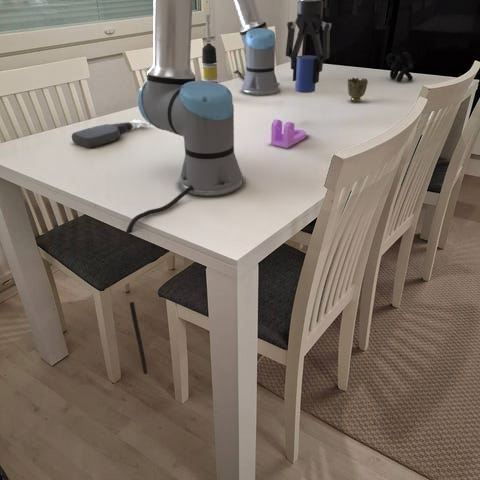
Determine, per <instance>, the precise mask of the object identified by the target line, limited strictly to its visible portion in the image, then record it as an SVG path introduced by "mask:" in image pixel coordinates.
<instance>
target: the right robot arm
mask: <svg viewBox="0 0 480 480" xmlns="http://www.w3.org/2000/svg"><path fill="white" fill-rule="evenodd" d="M232 3H233V6H234V9H235V12H236V15H237V18H238V20H239V24H240V27H239V31H238V32H239V35H240V38H241V41H242V44H243V48H244V50H245V66H246V67H245V71H246V72H245V75H244V76H242V73H241V72H240V71H239V70H238V69H236V70H235V71H234V74H237V73H238V74H239V78H240V79H242V80H243V82H242V86H241V92H242V93H243V94H246V95H250V96H270V95H274V94H277V93H278V92H279V87H280V82H278V80H277V76H276V73H275V64H276V63H275V62H276V42H277V41H276V40H277V39H276V33H275V31H273V30H272V29H270V28H268V26H267V25H268V24H267V22H266V19H263V18H262V17H261V15H260V12H259V8H258V6H257V2H256V0H232ZM361 3H362V0H353V8H352V16H359V9H360V8H359V7H360V6H361ZM331 8H332V0H324V1H323V9H325V10H324V17H325V18H330V17H331V12H332V11H331Z"/></svg>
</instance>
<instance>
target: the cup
mask: <svg viewBox="0 0 480 480" xmlns="http://www.w3.org/2000/svg"><path fill="white" fill-rule="evenodd" d="M368 82H369V79H367V78H365V77H362V78H361V79H359V77H356V78H355V77H352V78H347V93H348V96H349V97H350V101H351V102H354V103H359V102H360V101H361V98H363V96H365V94H366V92H367V91H366V90H367V87H368Z"/></svg>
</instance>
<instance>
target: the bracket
mask: <svg viewBox="0 0 480 480" xmlns="http://www.w3.org/2000/svg"><path fill="white" fill-rule="evenodd" d="M270 129H271V130H270V131H271V132H270V133H271V134H270V145H272V146H277V147H281V148H285V149H288V148H290V147H292V146H294V145H295V144H297V143H299V142H302V140H304V139H306V138H307V131H306V130H304V129H299V128H297V129H296V128H295V123H294V122H292V121H291V122H290V121H286V122H285V124H284V127H283V121H282V119H281V120H280V119H274V120H272V123H271V127H270Z"/></svg>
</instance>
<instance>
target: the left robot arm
mask: <svg viewBox="0 0 480 480" xmlns="http://www.w3.org/2000/svg"><path fill="white" fill-rule="evenodd" d="M193 1H194V0H153V64H152V67H150V68H149V69H148V71H147V72H146V81H144V82H143V83H142V86H141V87H140V88H139V90H138V94H137V106H138V109H139V113H140V115H141V116H142V118H143V119H144V120H145V122H148V123H150V126H151V125H152V126H154V127H155V128H157V129H159V130H161V131H166V132H169V133H172V134H175V135H178V136H181V137H183V141H184V142H183V143H184V154H185V155H184V158H183V164H182V168H181V171H180V177H179V178H180V179H179V183H180V184H179V185H180V188H181V189H182V192H180V193H179V194H178V195H177V196H176V197H174V198H173V199H172V200H171V201H170V202H168V203H167V204H165V205H163V206H161V207H157V208H152V209H148V210H146V211H144V212H141V213H140V214H137V215H135V216H134V217H133V218H132V219H131V220H130V221H129V223H128V225H127V228H126V231H125V233H126V234H127V235H128V234H131V233H132V230H133V229H134V226H135V225H136V224H137V222H138V221H139V220H141V219H143V218H145V217H148V216H150V215H153V214H154V215H155V214H158V213H162V212H165V211H167V210H168V209H171V207H173V206H174V205H175V204H177V203H178V202H179V201H180V200H181V199H183V198H184V197H185V196H186V195H187V194H190V195H194V196H199V197H221V196H224V195H229V194H232V193H234V192H235V191H237V190H239V189H240V188H241V187H242V185H243V174H242V171H241V168H240V165H239V163H238V160H237V157H236V154H235V125H234V124H235V121H234V119H235V115H234V114H235V113H234V112H235V110H234V109H235V106H234V102H233V94H232V92H231V90H230V89H229V87H227V86H226V85H223V84H221V83H219V82H218V83H215V82H216V81H215V82H207V80H197V76H196V75H195V73H194V72H193V71H192V70H191V46H192V25H193V24H192V23H193V22H192V21H193ZM323 11H324V1H323V0H298V1H297V10H296V14H297V15H296V19H295V20H292V21H291V20H290V21H288V22H287V23H286V26H287V37H286V38H287V39H286V47H285V56H286V57H288V58H290V69H291V70H292V82H296V67H297V57H298V56H299V52H300V50H301V47H302V44H303V41H304V38H305V36H306V35H309V36H311V39H312V42H313V44H314V45H313V46H314V50H315V56H316V57H317V61H315V67H314V81H313V83H316V84H317V83H319V82H320V73H321V72H322V71H323V68H324V66H323V65H324V61H325V60H327V59H329V58H330V55H331V54H330V53H331V52H330V51H331V49H330V48H331V47H330V46H331V45H330V44H331V29H332V27H333V23H332V22H326V21H324V19H323ZM296 27H297V29H298V33H297V35H296V36H297V37H296V40H295V32H296ZM321 27H322V31H323V33H322V42H321V38H320V29H321ZM294 41H295V43H294ZM129 308H130V313H131V318H132V324H133V328H134V332H135V333H134V334H135V337H136V342H137V346H138V351H139V356H140V362H141V367H142V372H143V374H144V375H147V374H148V367H147V362H146V355H145V350H144V346H143V341H142V336H141V331H140V326H139V322H138V317H137V312H136V305H135V301H131V302H129Z"/></svg>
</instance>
